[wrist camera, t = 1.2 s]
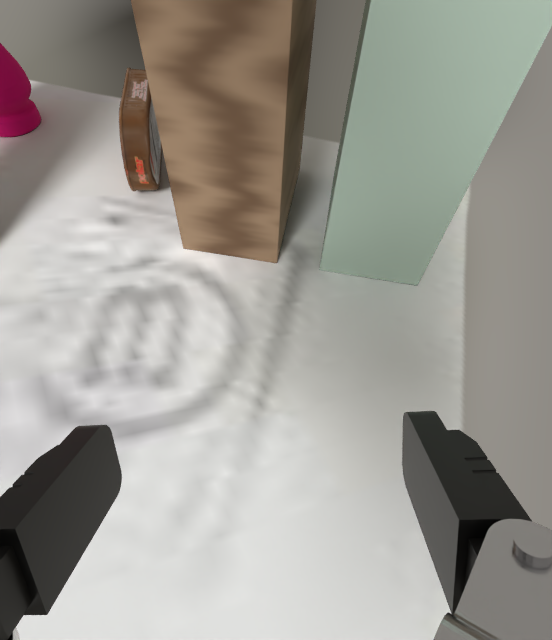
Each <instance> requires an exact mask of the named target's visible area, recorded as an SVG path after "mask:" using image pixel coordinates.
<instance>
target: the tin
mask: <svg viewBox="0 0 552 640" xmlns="http://www.w3.org/2000/svg"><path fill="white" fill-rule="evenodd" d="M119 129H120V142H121V150H122V156H123V162H124V168H125V172H126V177H127V180H128V183H129V186H130V188H131V190H132V191H136V190H156V189H158V188H159V184H160V171H161V156H162V145H161V140H160V135H159V131H158V126H157V121H156V116H155V112H154V107H153V102H152V98H151V93H150V88H149V83H148V79H147V74H146V70H138V69H131V68H127V71H126V76H125V81H124V87H123V92H122V97H121V102H120V108H119Z"/></svg>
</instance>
